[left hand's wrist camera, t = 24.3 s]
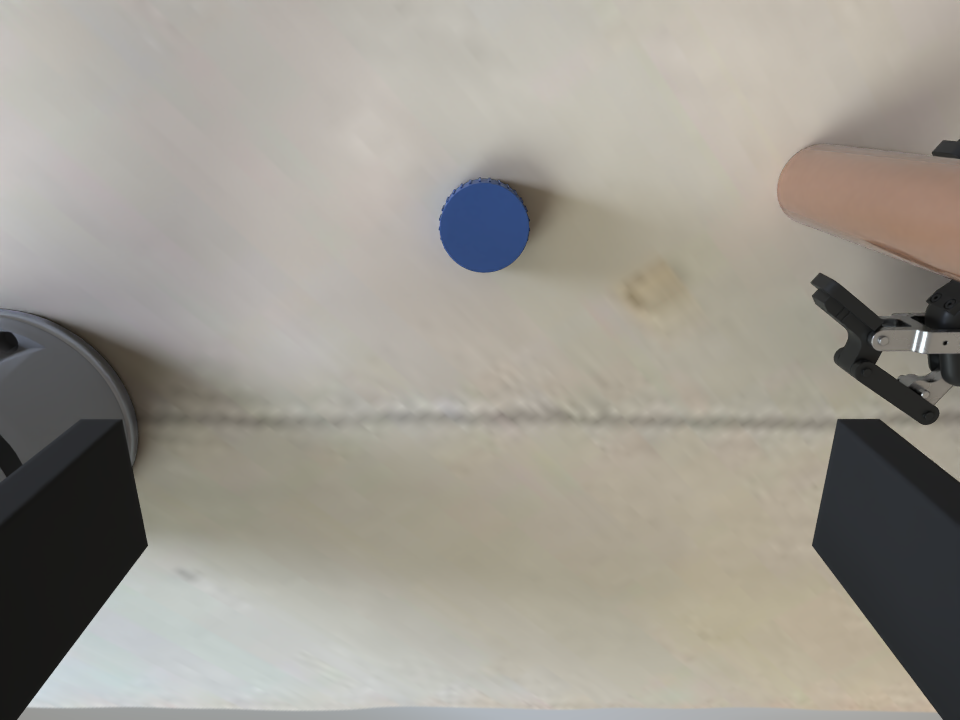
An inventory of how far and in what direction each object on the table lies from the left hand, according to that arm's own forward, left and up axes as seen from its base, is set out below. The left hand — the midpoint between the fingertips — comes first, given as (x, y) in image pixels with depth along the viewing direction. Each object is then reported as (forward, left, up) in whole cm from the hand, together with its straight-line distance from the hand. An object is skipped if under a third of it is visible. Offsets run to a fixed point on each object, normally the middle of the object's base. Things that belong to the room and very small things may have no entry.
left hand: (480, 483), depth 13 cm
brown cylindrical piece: (+19, -7, -30) cm, 36 cm away
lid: (0, 0, -28) cm, 28 cm away
